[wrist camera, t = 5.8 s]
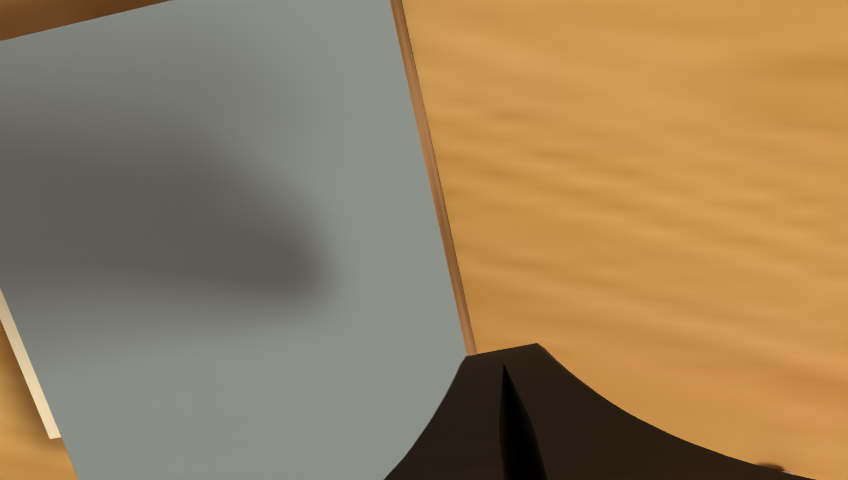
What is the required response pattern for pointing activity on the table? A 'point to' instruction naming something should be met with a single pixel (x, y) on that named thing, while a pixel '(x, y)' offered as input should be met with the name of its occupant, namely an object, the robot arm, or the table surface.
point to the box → (433, 173)
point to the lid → (223, 242)
